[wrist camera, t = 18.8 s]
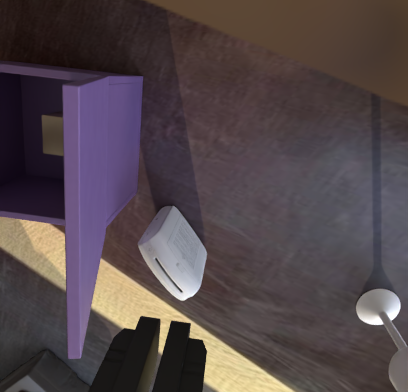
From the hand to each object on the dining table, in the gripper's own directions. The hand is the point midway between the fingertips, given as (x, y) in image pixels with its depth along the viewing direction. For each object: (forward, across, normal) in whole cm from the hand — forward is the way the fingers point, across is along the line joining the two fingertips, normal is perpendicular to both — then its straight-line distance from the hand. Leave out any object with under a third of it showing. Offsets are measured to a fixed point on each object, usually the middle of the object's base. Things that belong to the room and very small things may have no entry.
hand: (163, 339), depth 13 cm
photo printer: (+39, +4, +14) cm, 42 cm away
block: (+38, +20, 0) cm, 43 cm away
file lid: (+15, +9, 0) cm, 18 cm away
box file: (+39, +20, 0) cm, 44 cm away
